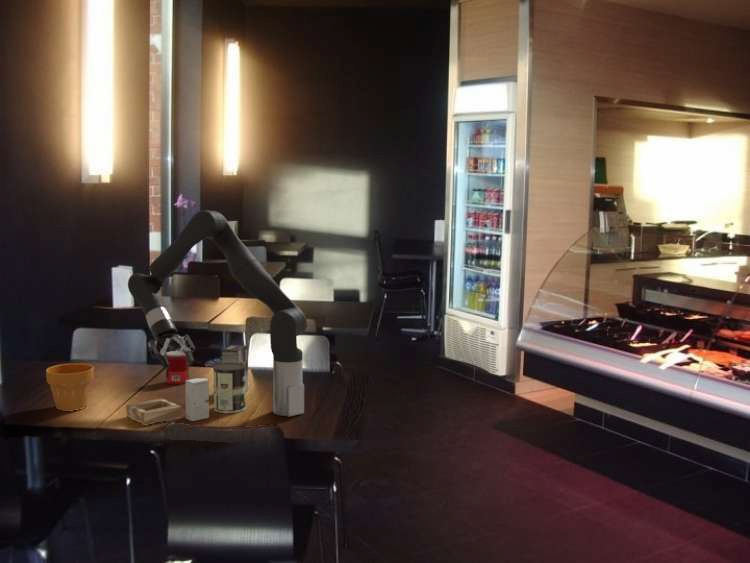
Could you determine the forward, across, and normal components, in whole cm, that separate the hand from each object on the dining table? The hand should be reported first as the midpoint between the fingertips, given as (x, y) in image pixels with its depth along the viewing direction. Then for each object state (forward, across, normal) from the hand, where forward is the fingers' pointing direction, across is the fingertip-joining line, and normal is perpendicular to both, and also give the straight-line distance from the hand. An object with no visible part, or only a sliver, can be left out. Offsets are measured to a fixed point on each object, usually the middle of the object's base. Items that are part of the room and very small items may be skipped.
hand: (179, 365), depth 256 cm
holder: (+11, -10, +9) cm, 18 cm away
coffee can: (+16, +13, +5) cm, 22 cm away
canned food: (-12, +17, +33) cm, 39 cm away
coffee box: (+6, +25, +15) cm, 30 cm away
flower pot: (-7, -25, +28) cm, 38 cm away
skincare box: (+18, 0, +3) cm, 18 cm away
